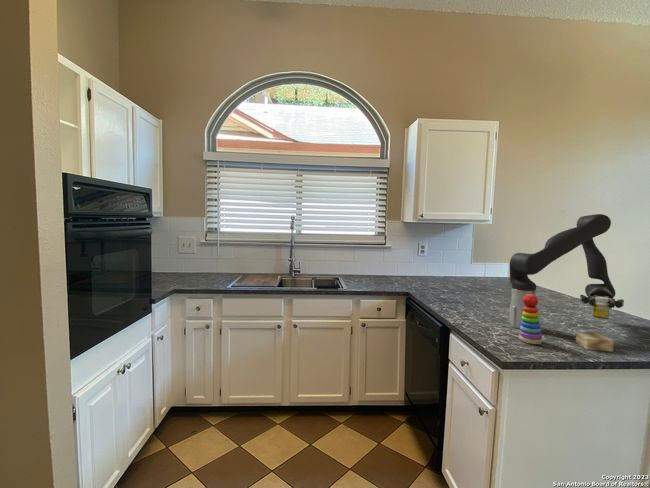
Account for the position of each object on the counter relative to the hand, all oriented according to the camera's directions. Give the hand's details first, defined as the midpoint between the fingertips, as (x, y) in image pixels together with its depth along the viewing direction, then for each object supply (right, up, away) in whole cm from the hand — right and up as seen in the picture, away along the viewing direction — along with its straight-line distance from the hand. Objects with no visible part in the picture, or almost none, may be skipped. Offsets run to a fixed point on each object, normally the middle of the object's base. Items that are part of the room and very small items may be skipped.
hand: (601, 304), depth 121 cm
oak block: (-6, -15, -3) cm, 17 cm away
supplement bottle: (+2, -6, +2) cm, 7 cm away
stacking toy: (-26, -15, +2) cm, 30 cm away
